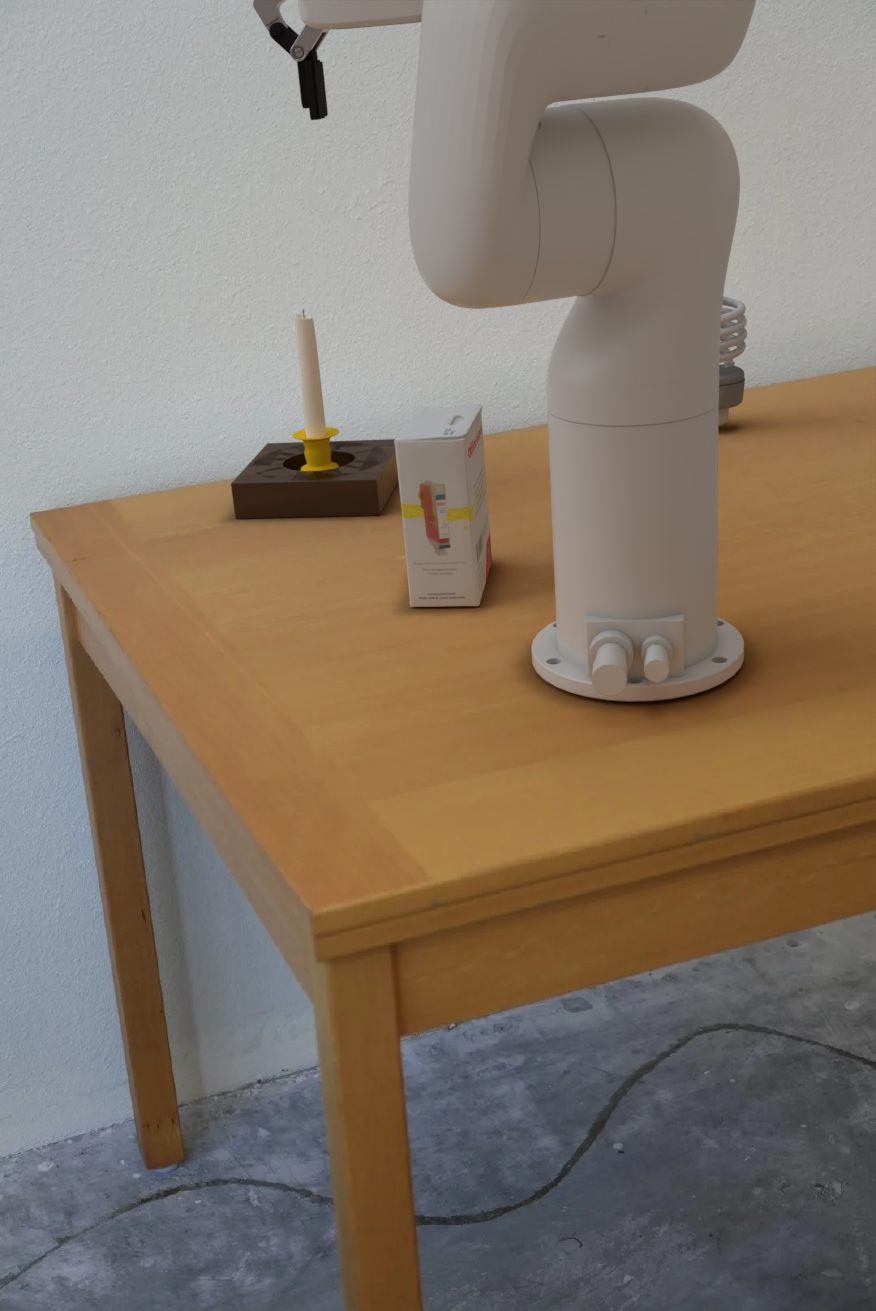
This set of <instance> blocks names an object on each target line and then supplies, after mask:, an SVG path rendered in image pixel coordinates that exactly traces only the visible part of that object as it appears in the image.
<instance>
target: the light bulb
mask: <svg viewBox="0 0 876 1311" xmlns="http://www.w3.org/2000/svg"><path fill="white" fill-rule="evenodd" d="M729 307H731V308H729ZM732 308H734V309H732ZM746 308H747V307H746V305H745V303H744V302H743V301H741V300H738V299H735V298H733V297H728V296H723V302H722V314H721V329H720V353H719V405H718V429H719V428H720V427H721V426H723V425H725V424H726V423H727V422H728V421H729V414H730V409H731V408H735V407H738V406H740V405H741V404H742V402H743V401H744V393H745V392H744V391H745V384H746V378H745V371H744V370H743V368H742V367H739V366H737V365H735V363H736V362H735V361H734V359H735V358H738V357H739V356H741V355H742V354H744V352H745V349H746V347H747V344H746V342H745V340H746V339H747V337H748V331H747V329H746V328H745V327H746V326H747V323H748V321H747V317H746V315H745V313H746ZM735 320H736V322H734V321H735ZM735 334H737V335H735ZM733 347H736V348H733ZM730 348H733V349H732V350H731V349H730ZM721 363H723V364H721Z"/></svg>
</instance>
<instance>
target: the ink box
mask: <svg viewBox="0 0 876 1311" xmlns="http://www.w3.org/2000/svg"><path fill="white" fill-rule="evenodd" d="M482 411H483V405H481V404H478V403H477V404H464V405H452V406H442V407H441V406H440V407H430V408H416V409H415V411H414V413H413V414H412V415H411V416H410V417H409V420H408V421H407V422H406V423H405V424H404V426H403V427H402V429H401V430H400V432H399V433H398V434H397V435H396V437H395V438H394V439H395V440H394V443H395V451H396V460H397V470H398V479H399V481H398V487H399V488H398V489H399V498H400V506H401V508H400V509H401V520H402V530H403V541H404V550H405V562H406V563H405V564H406V574H407V575H406V576H407V584H408V597H409V606H410V607H411V608H420V607H421V608H423V607H424V608H429V607H430V608H432V607H433V608H434V607H435V608H436V607H437V608H439V607H440V608H441V607H442V608H443V607H479V606H480V604H481V601H482V598H483V594H484V591H485V587H486V584H487V581H488V576H489V572H490V570H491V566H492V563H493V555H492V545H491V543H492V541H491V530H490V528H491V526H490V515H489V500H488V499H489V498H488V486H487V485H488V484H487V472H486V470H487V469H486V457H485V445H484V444H485V443H484V442H485V441H484V430H483V418H482Z"/></svg>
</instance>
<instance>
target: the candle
mask: <svg viewBox="0 0 876 1311" xmlns="http://www.w3.org/2000/svg"><path fill="white" fill-rule="evenodd" d="M294 325H295V327H294V328H295V339H296V349H297V358H298V360H297V361H298V369H299V379H300V389H301V399H302V409H303V420H304V428H303V429H299V430H296V431H295V432H293V433H292V438H293V439H296V440H300V441H302V442H303V444H304V446H305V452H304V454H305V458H306V462H307V464H306V465H304V466H302V467H301V471H321V470H328V469H334V468H338V464H337V463H334V462H331V449H330V446H329V444H330V441H331V438H333V437H336V436H338V435H339V433H340V430H339V429H338V428H337V427H332V426H327V425H326V417H325V406H324V398H323V389H322V380H321V372H320V361H319V352H318V344H317V343H318V342H317V336H316V329H315V323H314V317H313V316H311V315H308V314H305V310H304V308H302V314H301V313H300V314H295V315H294Z"/></svg>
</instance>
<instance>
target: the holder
mask: <svg viewBox="0 0 876 1311" xmlns="http://www.w3.org/2000/svg"><path fill="white" fill-rule="evenodd" d="M395 439H396V438H392V439H391V438H390V439H389V438H388V439H387V438H386V439H361V440H360V439H357V440H333V441H332V440H330V444H329V446H330V449H331V462H334V463H337V464H338V468H334V469H328V470H321V471H301V467H302V466H304V465H306V464H307V462H306V458H305V454H304V452H305V446H304V444H303V441H297V442H296V441H295V442H294V441H293V442H269V443H266V444H265V445H264V446H263V447H262V449H261V450H260V451H259V452H258V453H257V454H256V455H255V456H254V457H253V458H252V460H251V461H250V462H249V463H248V464H247V465H246V466H245V468H244V469H243V470H242V471H241V472H240V473H239V474H238V475H237V476H236V478H234V480H233V481H232V482H231V483H230V488H231V495H232V503H233V511H234V512H233V513H234V518H235V519H237V520H238V519H239V520H240V519H241V520H243V519H279V518H280V519H281V518H282V519H283V518H287V519H288V518H320V517H323V518H324V517H326V518H327V517H329V518H330V517H364V516H365V517H366V516H380V515H381V513H383V510H384V508H385V506H386V504H387V502H388V501H389V499H390V497H391V495H392V494H393V492H394V490H395V489H396V488H397V487H396V486H397V485H398V484H399V479H398V470H397V460H396V451H395V443H394V440H395Z"/></svg>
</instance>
